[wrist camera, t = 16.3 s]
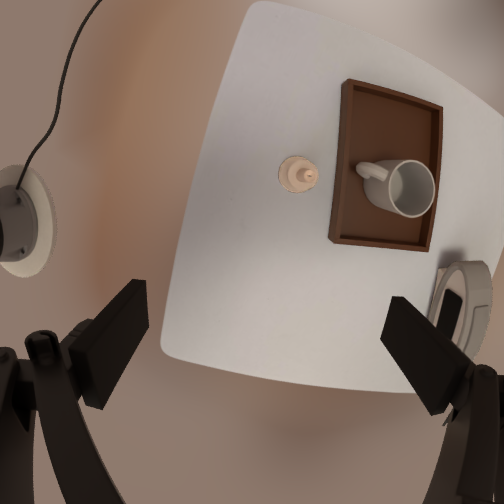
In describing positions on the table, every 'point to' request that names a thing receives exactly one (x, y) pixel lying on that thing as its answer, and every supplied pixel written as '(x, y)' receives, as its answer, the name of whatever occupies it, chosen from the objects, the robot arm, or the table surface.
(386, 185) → the cup
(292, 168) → the candle
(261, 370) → the table surface
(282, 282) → the table surface
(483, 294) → the alarm clock
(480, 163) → the table surface
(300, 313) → the table surface
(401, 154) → the tray
